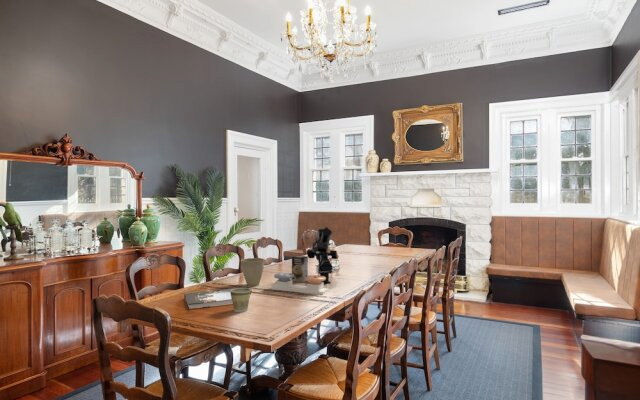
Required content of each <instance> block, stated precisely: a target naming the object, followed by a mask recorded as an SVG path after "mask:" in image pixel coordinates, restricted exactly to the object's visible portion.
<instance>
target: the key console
mask: <svg viewBox="0 0 640 400" xmlns="http://www.w3.org/2000/svg"><path fill="white" fill-rule="evenodd" d="M324 285H325V283H324V282H321V283H320V284H318V285H316V284H310V282H309V283H307V284H306V285H295V284H293V281H292V279H290V280H289V281H287V282H283V281H279V279H277V280H275V284H274V285H272V286H270V290H275V291H282V292H283V291H284V292H285V291H286V292H292V293H293V292H295V293H301V294H302V293H305V294H313V295H314V294H316V295H325V294H327V293H328V292H330V288H326V287H325V286H324Z"/></svg>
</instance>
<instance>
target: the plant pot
mask: <svg viewBox="0 0 640 400" xmlns="http://www.w3.org/2000/svg"><path fill="white" fill-rule="evenodd" d="M265 261H266V260H265V258H262V257H261V258H260V257H252V258H251V257H249V258H242V259H241V260H240V266H241V270H242V274H243V277H244V280H245V283H246V285H247V286H248V287H255V286H260V283H261V280H262V277H263V272H264V268H265Z"/></svg>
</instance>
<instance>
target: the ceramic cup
mask: <svg viewBox="0 0 640 400" xmlns="http://www.w3.org/2000/svg"><path fill="white" fill-rule="evenodd" d="M229 291H230V297H231V301H232V307H233V311H234V312H235V313H244V312H247V311H248V309H249V302H250V298H251V295H252V293H253V291H252V288H248V287H237V288H232V289H230V290H229Z"/></svg>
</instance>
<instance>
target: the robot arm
mask: <svg viewBox="0 0 640 400" xmlns="http://www.w3.org/2000/svg"><path fill="white" fill-rule="evenodd" d="M332 233H333V232H332V230H331V229H330V228H328V227H324V228H318V230H317V234H316V235H317V236H316V237H315V238H314V241H313V243H312V244H311V249H307V250H306V255H307V256H308V259H314V258H315V259H317V262H318V264H317V271H316V273H317V274H319V276H324V277H326V280H324V281H321V282H324V284H331V281H330V274H332V273H333V265H332V264H333V263H331V261H330V259H329V257H330V256H331V259H332V260H337V259H338V252H337V251H338V250H336V249H335V250H334V249H333V250H331V249H330V250H329V245H330V240H331V238H332Z"/></svg>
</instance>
